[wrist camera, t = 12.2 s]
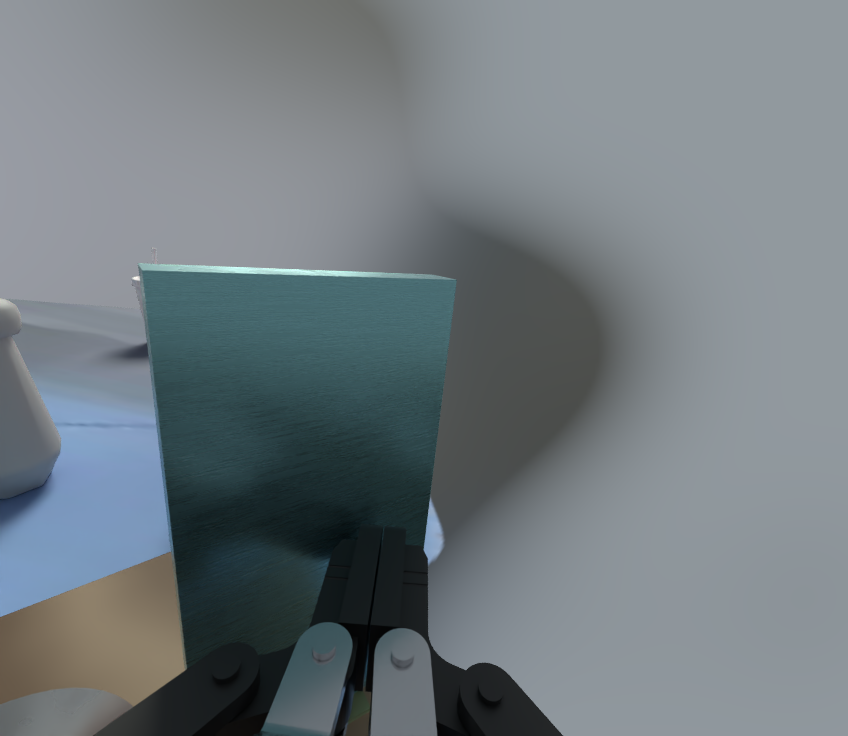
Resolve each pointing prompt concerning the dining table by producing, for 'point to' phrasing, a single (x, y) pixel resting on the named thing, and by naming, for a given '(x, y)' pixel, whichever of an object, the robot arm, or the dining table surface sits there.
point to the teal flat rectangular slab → (275, 446)
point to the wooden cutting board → (108, 640)
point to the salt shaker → (21, 417)
